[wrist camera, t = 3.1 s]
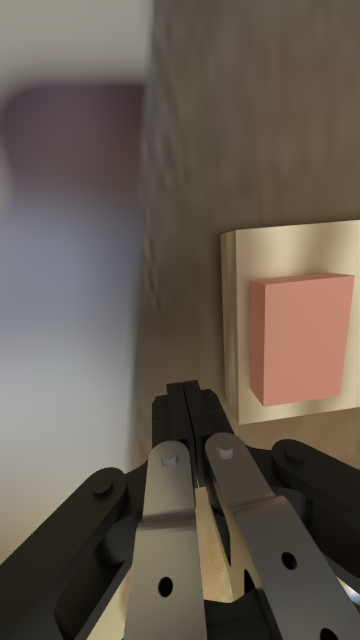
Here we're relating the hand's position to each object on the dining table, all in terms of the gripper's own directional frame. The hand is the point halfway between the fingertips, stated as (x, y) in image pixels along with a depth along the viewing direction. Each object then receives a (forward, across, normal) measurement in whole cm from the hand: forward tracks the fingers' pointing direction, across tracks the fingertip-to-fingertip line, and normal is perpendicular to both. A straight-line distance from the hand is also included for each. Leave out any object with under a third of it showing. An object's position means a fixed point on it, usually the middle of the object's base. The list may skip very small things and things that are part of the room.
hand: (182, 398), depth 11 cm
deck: (+11, -12, 0) cm, 16 cm away
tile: (+6, -9, 0) cm, 11 cm away
